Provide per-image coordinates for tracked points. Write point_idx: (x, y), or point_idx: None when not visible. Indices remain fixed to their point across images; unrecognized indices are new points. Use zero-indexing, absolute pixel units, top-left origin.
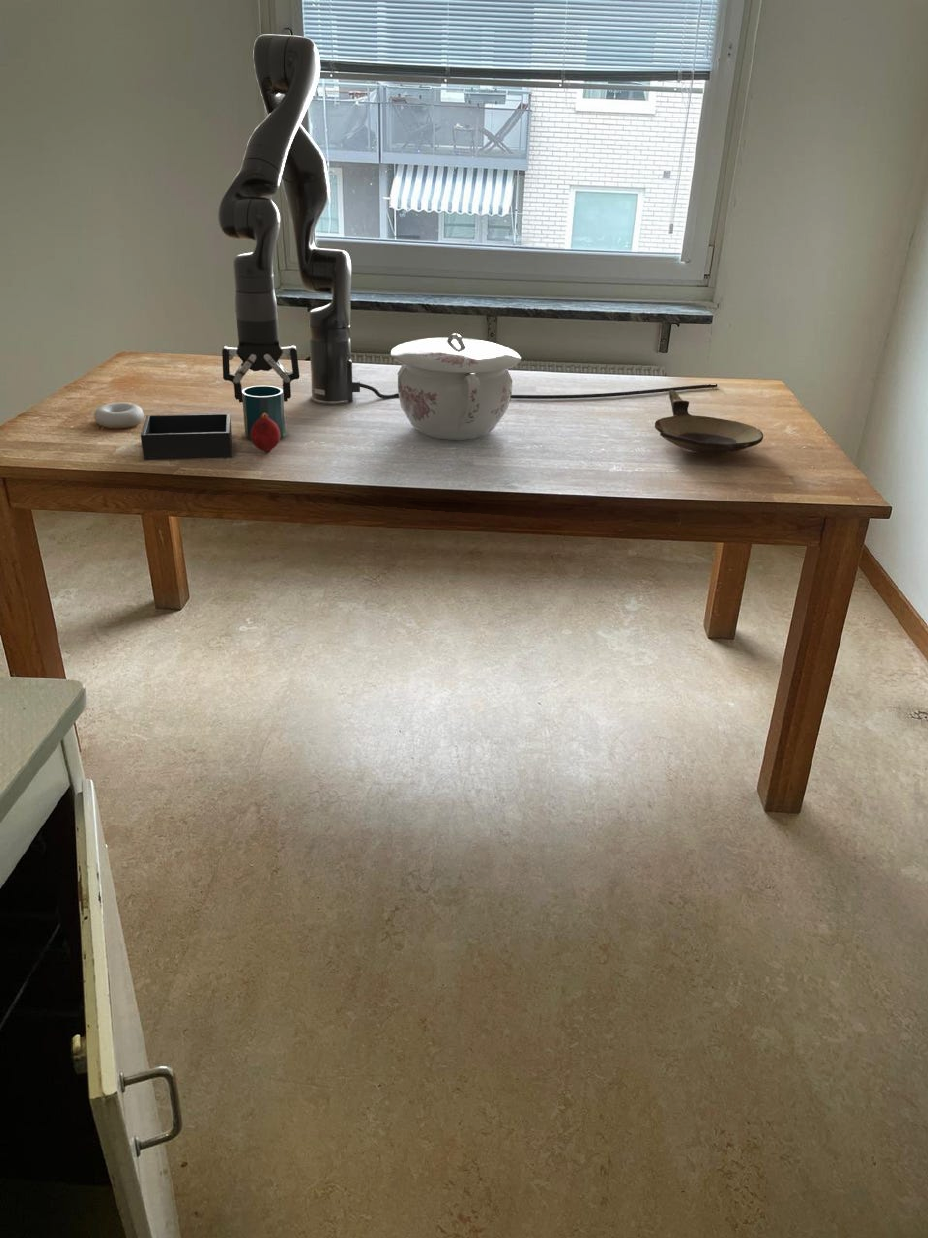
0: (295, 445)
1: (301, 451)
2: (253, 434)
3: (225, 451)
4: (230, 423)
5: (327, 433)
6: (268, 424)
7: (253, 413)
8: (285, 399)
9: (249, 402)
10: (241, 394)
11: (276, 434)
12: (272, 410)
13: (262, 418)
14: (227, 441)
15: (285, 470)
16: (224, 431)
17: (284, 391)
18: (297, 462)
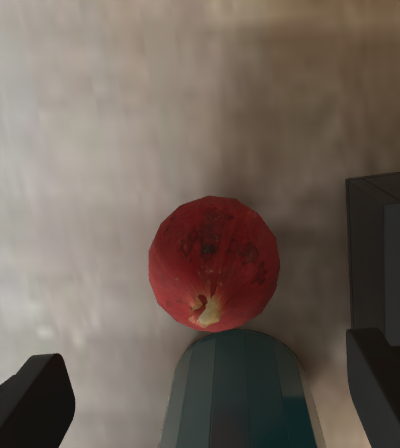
0: (127, 306)
1: (96, 250)
2: (262, 225)
3: (376, 180)
4: None
5: None
6: (185, 252)
7: (279, 415)
8: (40, 357)
9: None
10: (371, 364)
11: (157, 233)
12: (191, 428)
13: (216, 286)
14: (380, 191)
15: (119, 41)
16: None
17: (12, 401)
18: (89, 136)
